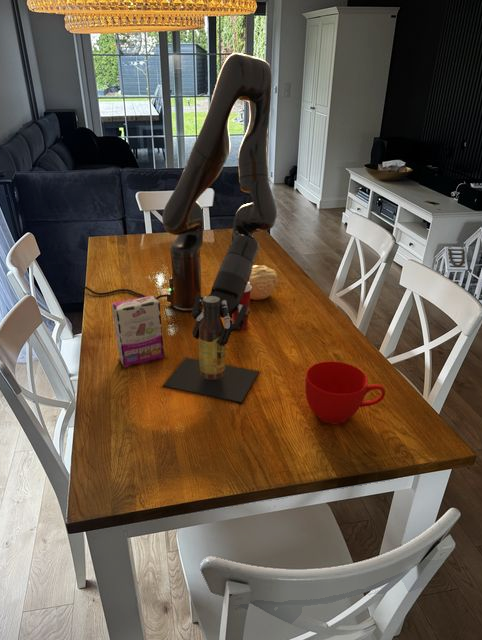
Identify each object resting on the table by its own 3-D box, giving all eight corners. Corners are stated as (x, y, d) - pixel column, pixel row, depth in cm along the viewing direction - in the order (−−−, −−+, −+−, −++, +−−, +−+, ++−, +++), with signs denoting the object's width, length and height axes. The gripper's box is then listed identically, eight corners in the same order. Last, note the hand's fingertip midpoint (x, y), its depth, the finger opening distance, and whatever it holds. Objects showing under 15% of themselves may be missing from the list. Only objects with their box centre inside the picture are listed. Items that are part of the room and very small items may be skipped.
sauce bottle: (222, 382, 116) (221, 306, 106) (196, 379, 118) (193, 304, 108) (227, 368, 122) (227, 295, 112) (203, 365, 123) (201, 292, 113)
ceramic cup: (382, 439, 101) (390, 399, 96) (300, 429, 104) (304, 390, 99) (377, 402, 112) (384, 365, 107) (303, 394, 115) (307, 358, 110)
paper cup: (253, 323, 147) (255, 280, 140) (246, 334, 141) (247, 289, 134) (229, 319, 149) (229, 276, 142) (220, 330, 143) (220, 286, 136)
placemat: (162, 386, 117) (162, 385, 117) (186, 358, 129) (185, 357, 129) (241, 403, 112) (241, 402, 112) (258, 372, 123) (258, 371, 123)
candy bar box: (158, 349, 133) (154, 294, 125) (164, 358, 129) (161, 301, 121) (118, 359, 128) (110, 302, 120) (123, 368, 125) (116, 310, 116)
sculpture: (249, 305, 158) (250, 274, 153) (234, 292, 168) (234, 262, 162) (280, 300, 162) (282, 269, 157) (263, 287, 172) (265, 257, 166)
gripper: (201, 264, 116) (175, 329, 113) (255, 275, 110) (229, 344, 107) (212, 278, 123) (188, 339, 120) (264, 289, 117) (240, 354, 114)
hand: (208, 341), depth 114 cm, fingers closed on sauce bottle, 6 cm apart
